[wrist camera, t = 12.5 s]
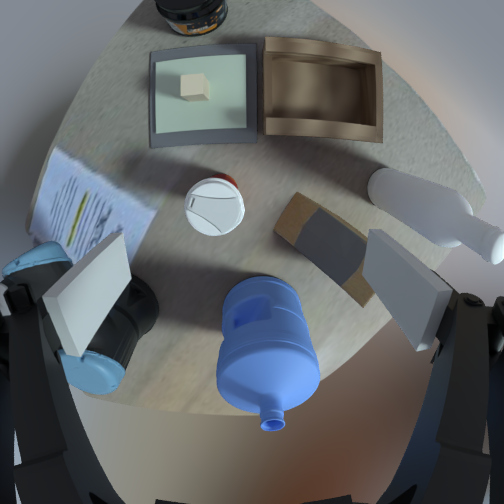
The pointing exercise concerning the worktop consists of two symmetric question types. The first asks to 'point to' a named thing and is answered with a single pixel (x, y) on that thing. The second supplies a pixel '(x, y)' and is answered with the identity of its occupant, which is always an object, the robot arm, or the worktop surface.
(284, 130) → the walnut box
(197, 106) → the cover plate
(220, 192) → the paper cup
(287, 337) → the water jug
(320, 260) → the sandwich container
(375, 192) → the bottle
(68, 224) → the worktop surface
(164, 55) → the charcoal mat
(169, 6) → the supplement container
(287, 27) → the worktop surface
